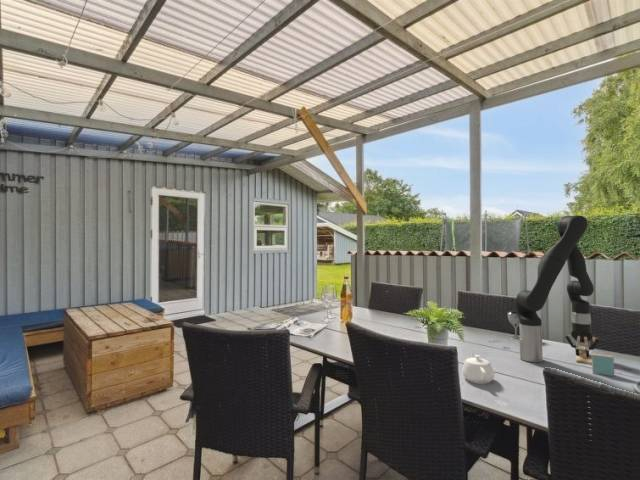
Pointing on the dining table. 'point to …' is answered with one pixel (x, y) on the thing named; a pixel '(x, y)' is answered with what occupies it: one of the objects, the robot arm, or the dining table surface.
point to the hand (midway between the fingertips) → (582, 356)
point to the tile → (603, 364)
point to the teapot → (478, 370)
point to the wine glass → (514, 322)
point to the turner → (583, 356)
